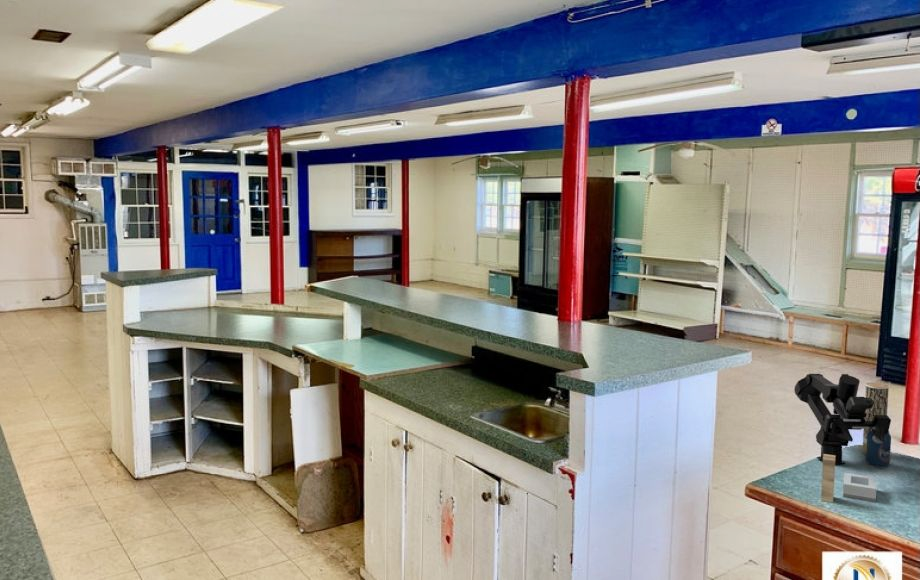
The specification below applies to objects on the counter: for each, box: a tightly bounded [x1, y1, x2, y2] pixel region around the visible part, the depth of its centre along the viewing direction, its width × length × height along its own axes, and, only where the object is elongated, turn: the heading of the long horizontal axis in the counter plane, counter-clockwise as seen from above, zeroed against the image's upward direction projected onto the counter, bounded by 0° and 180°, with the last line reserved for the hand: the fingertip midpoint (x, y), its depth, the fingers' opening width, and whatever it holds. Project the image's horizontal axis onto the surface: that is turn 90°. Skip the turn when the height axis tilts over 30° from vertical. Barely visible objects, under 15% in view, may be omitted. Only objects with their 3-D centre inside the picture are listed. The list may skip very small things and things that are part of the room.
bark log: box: [862, 382, 889, 455], centre depth 244 cm, size 7×7×25 cm
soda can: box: [865, 429, 892, 469], centre depth 235 cm, size 7×7×12 cm
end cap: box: [842, 472, 877, 503], centre depth 213 cm, size 10×8×4 cm
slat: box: [820, 454, 836, 503], centre depth 209 cm, size 4×3×13 cm
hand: (867, 440), depth 212 cm, fingers open, 9 cm apart
